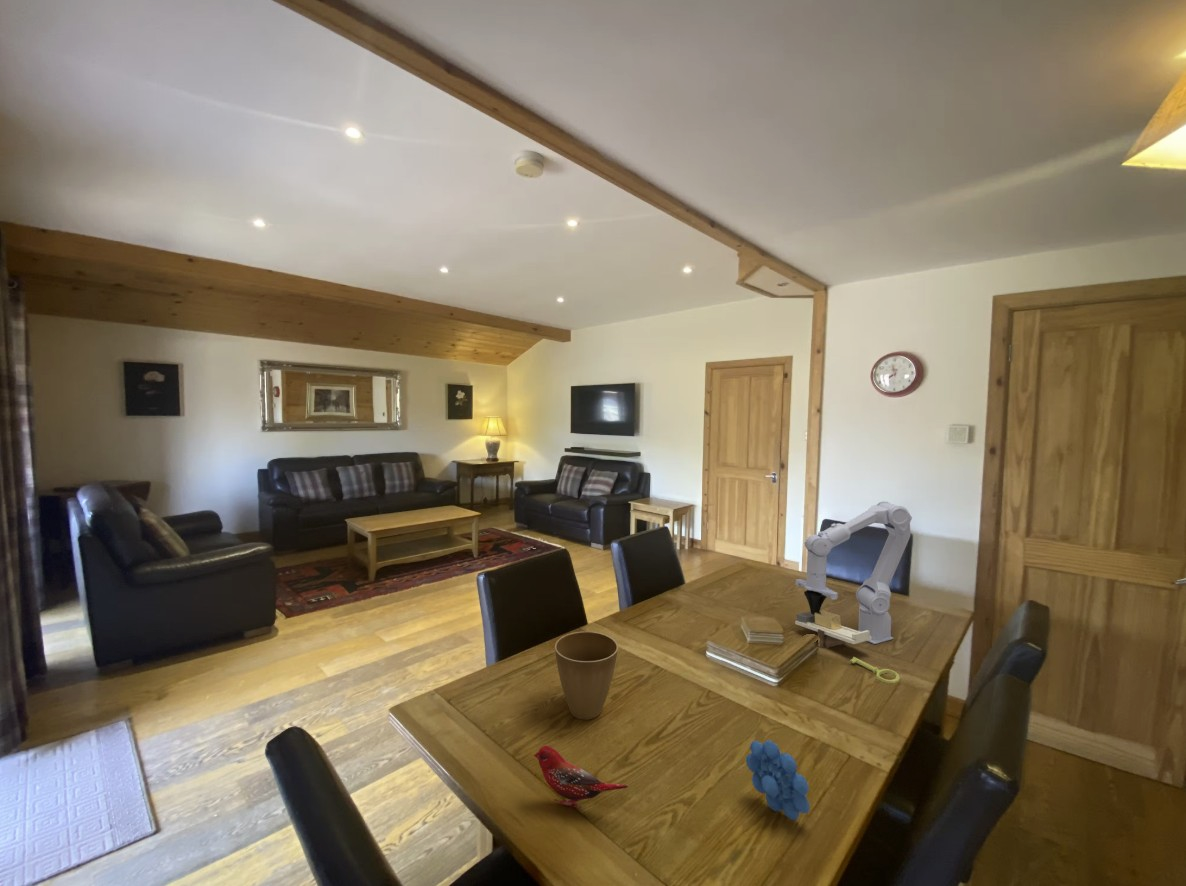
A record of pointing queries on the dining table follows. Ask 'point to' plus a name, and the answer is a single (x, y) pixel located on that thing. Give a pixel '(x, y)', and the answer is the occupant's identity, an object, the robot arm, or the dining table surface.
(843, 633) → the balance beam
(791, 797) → the blue flower
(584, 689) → the plant pot
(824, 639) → the fulcrum stand
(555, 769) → the decorative bird figurine
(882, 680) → the key
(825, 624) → the block
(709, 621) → the dining table surface
